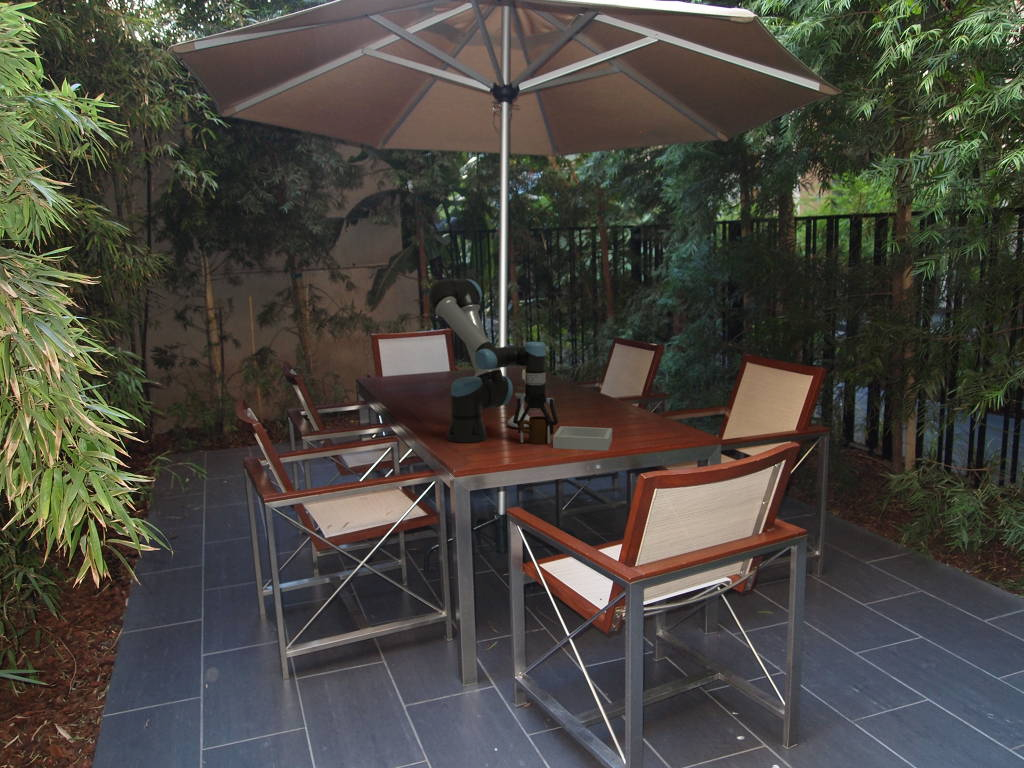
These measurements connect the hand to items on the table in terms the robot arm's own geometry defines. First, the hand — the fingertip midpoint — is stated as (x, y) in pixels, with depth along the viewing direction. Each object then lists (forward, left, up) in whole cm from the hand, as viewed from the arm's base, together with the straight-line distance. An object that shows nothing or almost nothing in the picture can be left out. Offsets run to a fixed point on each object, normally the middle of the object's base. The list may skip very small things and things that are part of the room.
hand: (535, 442), depth 302 cm
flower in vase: (-10, +28, 0) cm, 30 cm away
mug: (-1, 0, 0) cm, 1 cm away
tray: (+18, +2, 0) cm, 18 cm away
